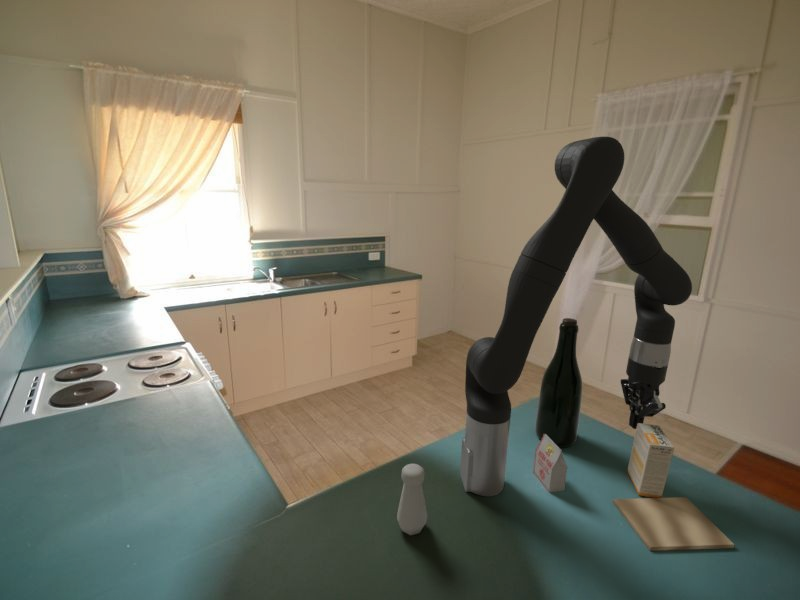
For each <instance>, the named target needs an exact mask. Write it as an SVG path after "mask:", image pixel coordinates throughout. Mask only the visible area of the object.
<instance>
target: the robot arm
mask: <svg viewBox="0 0 800 600" xmlns="http://www.w3.org/2000/svg"><path fill="white" fill-rule="evenodd" d="M624 165H625V150H624V148H623V146H622V144H621V142H620V141H619V140H618V139H616V138H615V137H611V136H595V137H590V138H585V139H580V140H576V141H572V142H569V143H568V144H566V145H564V146H563V147H562V148H561V149H560V150H559V152H558V153H557V155H556V158H555V161H554V174H555V176H556V178H557V180H558V182H559V184H560V185H562V187H563V188H564V189H565V190H564V193H563V195H562V197H561V199H560V202H559V204H558V205H557V207H556V208H555V210H554V211H553V212H552V214H551V215H550V216H549V217H548V219H547V220H546V221H545V222H544V223H543V224H542V225H541V226H540V227H539V228H538V229H537V230H536V232H534V234H533V235H532V236H531V237H530V238H529V239H528V240H527V243H525V245H524V246H523V249H522V250H521V252H520V254H519V256H518V259H517V261H516V262H515V265H514V267H513V269H512V272H511V273H510V274H511V275H510V277H509V280H508V286H507V292H506V296H505V297H506V298H505V306H504V311H503V312H504V313H503V317H502V320H501V323H500V326H499V328H498V329H497V332H496V334H495V336H494V337H493V336H492V337H491V336H489V337H488V336H486V337H482V338H479V339H478V340H476V341H475V342H473V343H472V345H471V346H470V348H469V350H468V352H467V356H466V361H465V379H464V380H465V384H464V386H465V387H464V390H465V391H464V393H465V401H466V412H465V413H466V416H465V432H464V433H465V434H464V436H463V437H461V453H460V454H461V455H460V469H459V471H460V472H459V475H460V478H461V481H462V485H463V488H464V491H465V492H468V493H469V492H471V493H473V494H475V495H479V496H482V497H493V496H497V495H499V494H500V493H501V492H502V491H503V490H504V488H505V481H506V480H505V479H506V469H507V468H506V467H507V457H508V450H509V449H508V448H509V437H510V426H511V417H512V416H511V415H512V404H511V403H512V402H511V399H510V395H509V392H508V391H509V390H510V389H512V388H513V387H514V386H515V385H516V384H517V383H518V380H519V379H520V376H521V375H522V372H523V371H524V367H525V364H526V362H527V359H528V356H529V353H530V350H531V348H532V346H533V342H534V341H535V338H536V335H537V333H538V331H539V328H540V327H541V325H542V323H543V321H544V319H545V316H546V315H547V312H548V310H549V308H550V306H551V304H552V302H553V300H554V298H555V296H556V294H557V293H558V291H559V289H560V287H561V286H562V283H563V281H564V278H566V275H567V273H568V271H569V268H570V266H571V263H572V261H573V259H574V257H575V255H576V253H577V252H578V250H579V247H581V244H582V241H583V240H584V238H585V236H586V234H587V232H588V230H589V229H590V226H591V224H592V222H593V221H595V223H596V224H597V225H598V226H599V228H601V230H602V231H603V233H605V235H606V237H607V238H608V239H609V241H610V242H611V243H612V245H613V246H614V248H615V250H616V251H617V253H618V254H619V255H620V257H621V259H622V260H623V262H624V263H625V265H626V267H628V268H629V270H631V271H632V272H633V273H636V274H638V275H637V277H636V278H635V282H634V288H633V290H634V291H633V292H634V304H635V313H636V321H635V327H634V332H633V338H632V341H631V344H630V348H629V353H628V359H627V364H626V371H625V373H626V375H627V377H628V378H622V379H620V385H621V390H622V395H623V399H624V403H625V405H627V406H629V408H628V409H629V411H630V414H629V418H628V419H629V422H628V425H629V426H630V428H632V429H633V430H636V428H637V424H638V423H642V424H644V423H645V422H644V421H645V417H650V418H652V417H654V416H656V415H657V414H659V413H660V412H662V411H663V410H665V409H667V407H666V403H665V402H661V401H660V398H659V396H660V385H662V384H663V383H664V382H665V381H666V377H667V373H668V366H669V363H670V357H671V353H672V341H673V336H674V331H675V325H676V320H675V318H674V316H672V314H670V313H669V312H668V311H667V309H666V308H665V305H666V306H679V305H681V304H684V303H685V302H686V301H688V299H689V298H690V297H691V294H692V291H693V283H692V280H691V277H690V276H689V274H688V273H687V271H686V270H685V269H684V268H683V267H682V266H681V265H680V263H678V262H677V261H676V260H675V259H674V257H672V256H671V255H670V254H668V253H667V252H666V251H665V250H664V248H663V247H662V244H661V243H660V241H659V239H658V238H657V236H656V235H655V233H654V231H653V230H652V229H651V227H650V226H649V224H647V222H646V220H644V219H643V218H642V217H641V216H640V215H639V213H637V212H636V211H634V210H633V209H632V208H631V207H630V206H629V205H627V204H626V203H625V202H624V201H623V200H622V199H621V198H620V197H619V196H618V194H616V193H615V191H614V190H613V188H614V187H615V185H616V183H617V182H618V180H619V178H620V176H621V174H622V171H623V168H624Z"/></svg>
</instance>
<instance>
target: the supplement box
mask: <svg viewBox="0 0 800 600" xmlns="http://www.w3.org/2000/svg"><path fill="white" fill-rule="evenodd" d="M674 450H675V447H674V445H673V444H672V442H671V441H670V439H669V438H668V436H667V435H666V433H665V432H664V430H663V428H662V427H661V425H657V424H649V423H643V424H642V423H638V424H637V428H636V429H635V433H634V438H633V443H632V448H631V452H630V456H629V462H628V465H627V473H628V475H629V477H630V479H631V482H632V483H633V485H634V488H635V491H636V492H637V495H638V496H641V497H642V496H643V497H646V498H663V493H664V490H665V485H666V483H667V482H666V481H667V479H668V474H669V469H670V468H671V467H670V466H671V462H672V459H673V456H674V455H673V454H674Z"/></svg>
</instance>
